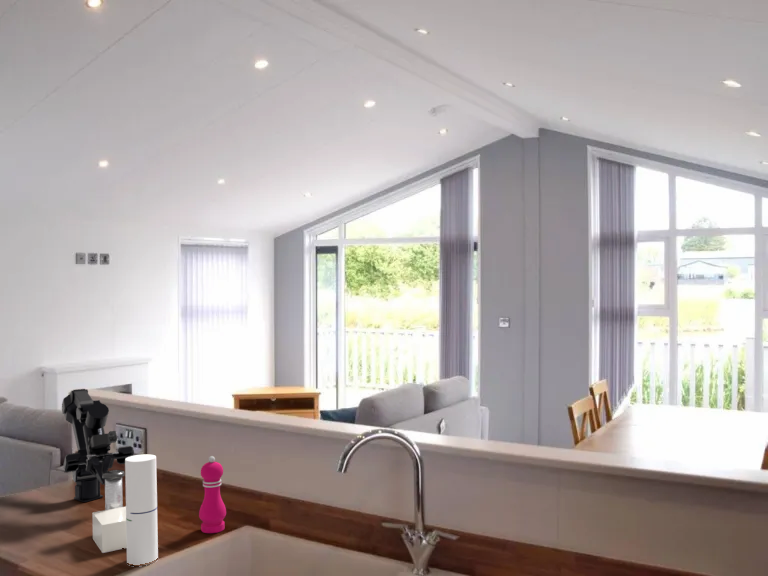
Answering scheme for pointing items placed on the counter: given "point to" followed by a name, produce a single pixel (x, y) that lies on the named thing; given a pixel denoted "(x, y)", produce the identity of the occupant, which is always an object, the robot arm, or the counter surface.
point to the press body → (110, 529)
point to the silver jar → (113, 489)
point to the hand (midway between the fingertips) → (103, 483)
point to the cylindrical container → (141, 509)
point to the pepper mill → (212, 498)
